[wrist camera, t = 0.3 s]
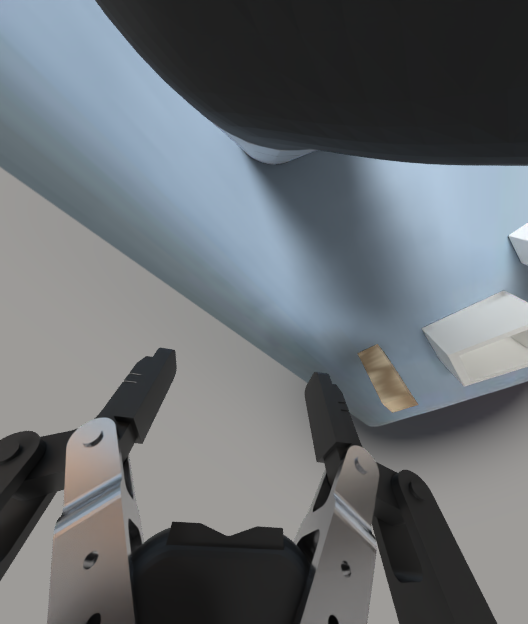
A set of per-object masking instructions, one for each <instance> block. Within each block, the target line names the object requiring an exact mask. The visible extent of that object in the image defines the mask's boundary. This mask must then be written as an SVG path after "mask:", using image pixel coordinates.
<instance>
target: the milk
mask: <svg viewBox="0 0 528 624" xmlns="http://www.w3.org/2000/svg"><path fill="white" fill-rule="evenodd" d="M508 236H509V238H510V240H511V242H512V245H513V247H514V249H515V251H516V253H517V255H518V257H519V259H520V261H521V263H523V264H525V265H528V223H526V224H525V225H523V226H522V227H520V228H519V229H517V230H516V231H514V232H513V233H511V234H510V235H508Z"/></svg>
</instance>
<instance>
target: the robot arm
mask: <svg viewBox="0 0 528 624" xmlns="http://www.w3.org/2000/svg"><path fill="white" fill-rule="evenodd" d="M95 1H96V2H97V3H98V5H99V6H100V7H101V9H102V10H103V12H104V13H105V14H106V16H107V17H108V18H109V19H110V20H111V22H112V23H113V24H114V25H115V26H116V28H117V29H118V30H119V31H120V32H121V34H122V35H123V36H124V37H125V38H126V40H127V41H128V42H129V43H130V44H131V46H132V47H133V48H134V49H135V50H136V52H137V53H138V54H139V55H140V56H141V57H142V58H143V59H144V60H145V61H146V62H147V63H148V64H149V65H150V66H151V68H152V69H153V70H154V71H155V72H156V73H157V74H158V75H159V76H160V77H161V78H162V79H163V80H164V81H165V82H166V83H167V84H168V85H169V86H170V87H172V88H173V89H174V90H175V91H176V92H177V93H178V94H179V95H180V96H182V97H183V98H184V99H185V100H186V101H187V102H188V103H189V104H190V105H192V106H193V107H194V108H195V109H196V110H198V111H199V112H200V113H201V114H202V115H204V116H205V117H206V118H207V119H208V120H210V121H211V122H212V123H213V124H214V125H216V126H217V127H218V128H219V129H220V130H221V131H223V132H224V133H225V134H226V135H227V136H228V137H229V138H230V139H232V140H233V141H234V142H235V143H236V144H237V145H238V146H239V147H241V148H242V149H243V150H244V152H245V153H246V154H248V155H249V156H250V157H252V158H254V159H255V160H257V161H259V162H263V163H266V164H282V163H286V162H289V161H290V160H293V159H296V158H298V157H301V156H303V155H306V154H309V153H311V152H314V151H317V150H321V151H327V152H334V153H340V154H346V155H353V156H359V157H367V158H374V159H381V160H390V161H399V162H410V163H422V164H441V165H500V166H528V0H95ZM175 355H176V354H175V350H172V349H165V348H159V349H158V350H157V351H156V353H155V355H154V356H153V357H148V356H146V357H145V358H143V359H142V360H140V361H139V362H138V363H137V364H136V365H135V366H134V368H133V369H132V370H131V372H130V374H129V375H128V376H127V377H126V378H125V380H124V382H122V384H121V385H120V387H119V388H118V389H117V391H116V392H115V394H114V395H113V396H112V397H111V399H110V400H109V402H108V403H107V404H106V406H105V407H104V409H103V410H102V411H101V412H100V414H99V415H98V416H97V417H96V418H94V419H93V420H91V421H89V422H87V423H85V424H83V425H82V426H81V427H79V428H78V429H75V430H72V431H68V432H63V433H58V434H53V435H48V436H43V437H40V436H39V435H38V434H37V433H35V432H33V431H23V432H18V433H15V434H12V435H9V436H7V437H5V438H3V439H2V440H0V580H1V579H2V577H3V576H4V574H5V573H6V571H7V570H8V568H9V566H10V565H11V563H12V562H13V560H14V559H15V557H16V555H17V554H18V552H19V551H20V549H21V547H22V546H23V544H24V543H25V541H26V540H27V538H28V536H29V535H30V533H31V532H32V530H33V529H34V527H35V525H36V524H37V522H38V521H39V519H40V517H41V516H42V514H43V513H44V511H45V510H46V508H47V507H48V505H49V503H50V502H51V500H52V499H53V497H54V495H55V494H56V492H57V491H60V490H64V508H63V513H62V515H61V517H60V518H59V519H58V520H57V523H56V526H55V530H54V536H53V549H52V563H51V577H50V592H49V607H48V621H47V624H367V620H368V613H369V604H370V597H371V590H372V582H373V574H374V567H375V559H376V549H377V548H376V547H377V546H376V541H377V544H378V548H379V552H380V555H381V558H382V562H383V566H384V570H385V573H386V577H387V581H388V584H389V588H390V591H391V595H392V599H393V603H394V606H395V609H396V613H397V617H398V621H399V624H497V622H496V620H495V618H494V616H493V614H492V612H491V610H490V608H489V606H488V604H487V602H486V600H485V598H484V596H483V594H482V592H481V590H480V588H479V586H478V585H477V582H476V580H475V578H474V576H473V574H472V572H471V570H470V568H469V566H468V564H467V563H466V560H465V558H464V556H463V554H462V553H461V551H460V548H459V546H458V545H457V543H456V540H455V538H454V537H453V534H452V532H451V531H450V528H449V526H448V524H447V522H446V520H445V518H444V516H443V514H442V512H441V511H440V509H439V507H438V505H437V502H436V500H435V498H434V496H433V495H432V493H431V491H430V489H429V488H428V486H427V485H426V483H425V482H424V481H423V480H422V479H421V478H420V477H419V476H418V475H416V474H415V473H413V472H411V471H409V470H402V471H401V472H399V473H397V472H394V471H393V470H390V469H389V468H386V467H385V466H383V465H381V464H379V463H377V462H375V460H374V458H373V457H372V456H371V454H370V453H369V452H367V451H366V450H365V449H364V448H363V447H362V445H361V443H360V440H359V438H358V435H357V432H356V430H355V427H354V424H353V421H352V418H351V416H350V413H349V412H348V411H349V410H348V407H347V405H346V402H345V399H344V397H343V394H342V392H341V391H340V389H339V388H338V387H337V385H335V384H332V382H331V379H330V376H329V375H328V374H326V373H319V372H314V373H313V375H312V377H311V379H310V380H309V382H308V384H307V386H306V389H305V400H306V406H307V411H308V417H309V422H310V428H311V433H312V438H313V444H314V449H315V455H316V460H317V462H322V463H325V468H326V470H325V471H324V473H323V476H322V478H321V481H320V484H319V486H318V489H317V492H316V494H315V497H314V499H313V502H312V504H311V507H310V510H309V512H308V514H307V515H306V517H305V518H304V520H303V522H302V523H301V525H300V528H299V530H298V532H297V535H296V537H295V540H294V542H292V540H290V539H289V538H287V537H286V536H284V535H283V529H282V528H272V527H254V528H252V529H249V530H246V531H243V532H240V533H237V534H234V535H232V536H226V535H224V534H221V533H219V532H217V531H215V530H213V529H211V528H209V527H207V526H205V525H203V524H201V523H186V522H172V525H171V528H168V529H165V530H163V531H161V532H159V533H157V534H156V535H154V536H152V537H151V538H149V539H148V540H147V541H146V542H144V539H143V533H142V526H141V520H140V515H139V510H138V507H137V504H136V498H135V492H134V485H133V479H132V472H131V465H130V459H129V453H130V451H131V448H132V447H133V445H134V443H140V444H142V443H143V441H144V439H145V437H146V435H147V433H148V431H149V429H150V427H151V424H152V422H153V421H154V419H155V417H156V414H157V412H158V410H159V408H160V406H161V404H162V402H163V400H164V398H165V396H166V394H167V392H168V390H169V388H170V385H171V383H172V381H173V379H174V377H175V374H176V356H175ZM371 524H372V526H373V530H374V534H375V537H376V539H375V537H374V535H373V534H372V532H371Z"/></svg>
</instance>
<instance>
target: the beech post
mask: <svg viewBox="0 0 528 624" xmlns="http://www.w3.org/2000/svg"><path fill="white" fill-rule="evenodd" d="M358 355H359V357H360V359H361V361H362V363H363V365H364V367H365V369H366V371H367V373H368V376H369V378H370V380H371V382H372V384H373V386H374V388H375V390H376V392H377V394H378V396H379V398H380V400H381V402H382V404H383V405H384V406H386V407H387V408H388V409H389V410H390V411H391V412H392V413H393V412H396V411H400V410H403V409H406V408H409V407H413V406H416V405H418V403H417V402H416V400H415V399H414V397H413V395H412V394H411V392H410V391H409V389H408V388H407V386H406V385H405V383H404V382H403V380H402V379H401V377H400V375H399V374H398V372H397V371H396V369H395V368H394V366H393V365H392V363H391V362H390V360H389V358H388V357H387V355H386V354H385V353H384V351H383V350H382V349H381V348H380V347H379V345H378V344H376V345H374V346H372V347H370V348H368V349H366V350H364V351H362V352H359V353H358Z"/></svg>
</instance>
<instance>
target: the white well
mask: <svg viewBox="0 0 528 624" xmlns="http://www.w3.org/2000/svg"><path fill="white" fill-rule="evenodd" d="M422 330H423V332H424V334H425V335H426V337H427V339H428V341H429V342H430V344H431V346H432V348H433V349H434V351H435V353H436V355H437V356H438V358H439V360H440V361H441V362H442V363H443V364H444V365H445V366H446V367H447V368H448V370H449V371H450V372H451V373H452V374H453V375H454V376H455V377H456V378H457V379H458V380H459V382H460V383H461V384H462V385H463V386H464V387H465V386H468V385H471V384H474V383H477V382H481V381H484V380H487V379H490V378H493V377H496V376H500V375H503V374H506V373H509V372H512V371H515V370H519V369H522V368H525V367H528V302H526V301H524V300H522V299H520V298H518V297H516V296H514V295H512V294H510V293H508V292H506V291H504V290H503V291H501V292H499V293H497V294H495V295H492V296H490V297H488V298H486V299H484V300H482V301H480V302H477V303H475V304H473V305H471V306H469V307H467V308H464V309H462V310H460V311H458V312H456V313H454V314H451V315H449V316H447V317H445V318H443V319H441V320H438V321H436V322H434V323H432V324H430V325H428V326H426V327H423V328H422Z"/></svg>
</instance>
